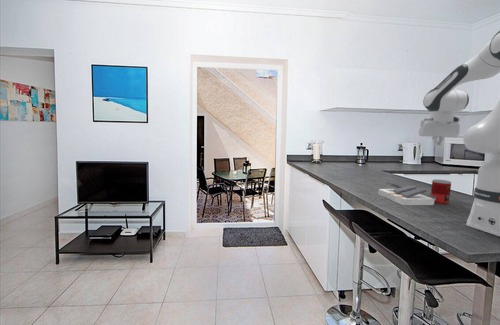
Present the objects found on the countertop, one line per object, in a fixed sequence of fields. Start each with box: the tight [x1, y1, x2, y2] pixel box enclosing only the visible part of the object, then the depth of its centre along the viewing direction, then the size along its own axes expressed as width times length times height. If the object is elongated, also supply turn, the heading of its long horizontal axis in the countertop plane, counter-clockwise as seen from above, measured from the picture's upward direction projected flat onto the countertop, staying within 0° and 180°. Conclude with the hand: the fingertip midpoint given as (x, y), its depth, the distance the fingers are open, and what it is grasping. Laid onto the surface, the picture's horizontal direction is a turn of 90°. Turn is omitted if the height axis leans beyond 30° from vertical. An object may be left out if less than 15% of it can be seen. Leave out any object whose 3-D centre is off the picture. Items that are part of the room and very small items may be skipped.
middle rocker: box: [393, 184, 418, 194], centre depth 149 cm, size 4×10×1 cm, turn 96°
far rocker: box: [386, 181, 402, 189], centre depth 156 cm, size 4×10×1 cm, turn 96°
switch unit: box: [377, 188, 435, 206], centre depth 150 cm, size 22×16×3 cm
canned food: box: [430, 179, 452, 205], centre depth 145 cm, size 8×8×11 cm
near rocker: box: [401, 187, 427, 198], centre depth 142 cm, size 4×10×1 cm, turn 96°
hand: (437, 145), depth 148 cm, fingers closed
